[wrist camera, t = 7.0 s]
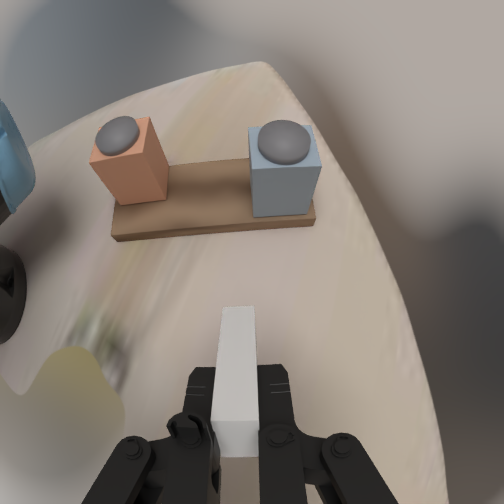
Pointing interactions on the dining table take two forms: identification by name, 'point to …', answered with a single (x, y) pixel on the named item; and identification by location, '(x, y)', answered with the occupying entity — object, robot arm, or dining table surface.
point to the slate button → (282, 168)
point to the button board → (200, 205)
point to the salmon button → (130, 160)
